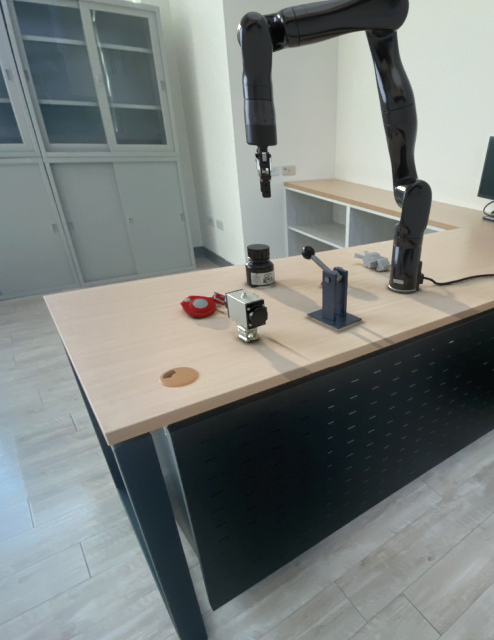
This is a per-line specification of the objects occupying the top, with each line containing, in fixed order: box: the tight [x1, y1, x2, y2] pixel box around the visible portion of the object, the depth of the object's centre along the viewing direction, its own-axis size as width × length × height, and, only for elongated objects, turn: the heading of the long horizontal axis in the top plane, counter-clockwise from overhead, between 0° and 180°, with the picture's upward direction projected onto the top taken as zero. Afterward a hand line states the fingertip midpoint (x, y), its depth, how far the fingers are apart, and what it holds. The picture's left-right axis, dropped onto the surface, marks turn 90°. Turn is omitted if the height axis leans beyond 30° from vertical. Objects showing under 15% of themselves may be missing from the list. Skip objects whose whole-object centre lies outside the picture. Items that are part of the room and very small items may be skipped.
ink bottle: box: [245, 243, 276, 289], centre depth 128 cm, size 10×9×12 cm
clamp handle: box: [301, 245, 343, 284], centre depth 106 cm, size 14×4×4 cm, turn 49°
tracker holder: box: [179, 291, 226, 319], centre depth 111 cm, size 12×4×10 cm
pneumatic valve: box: [223, 288, 269, 343], centre depth 96 cm, size 6×12×12 cm, turn 46°
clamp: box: [306, 266, 363, 330], centre depth 107 cm, size 12×9×14 cm
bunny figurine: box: [352, 250, 391, 272], centre depth 152 cm, size 10×5×15 cm
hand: (265, 194), depth 107 cm, fingers open, 8 cm apart
